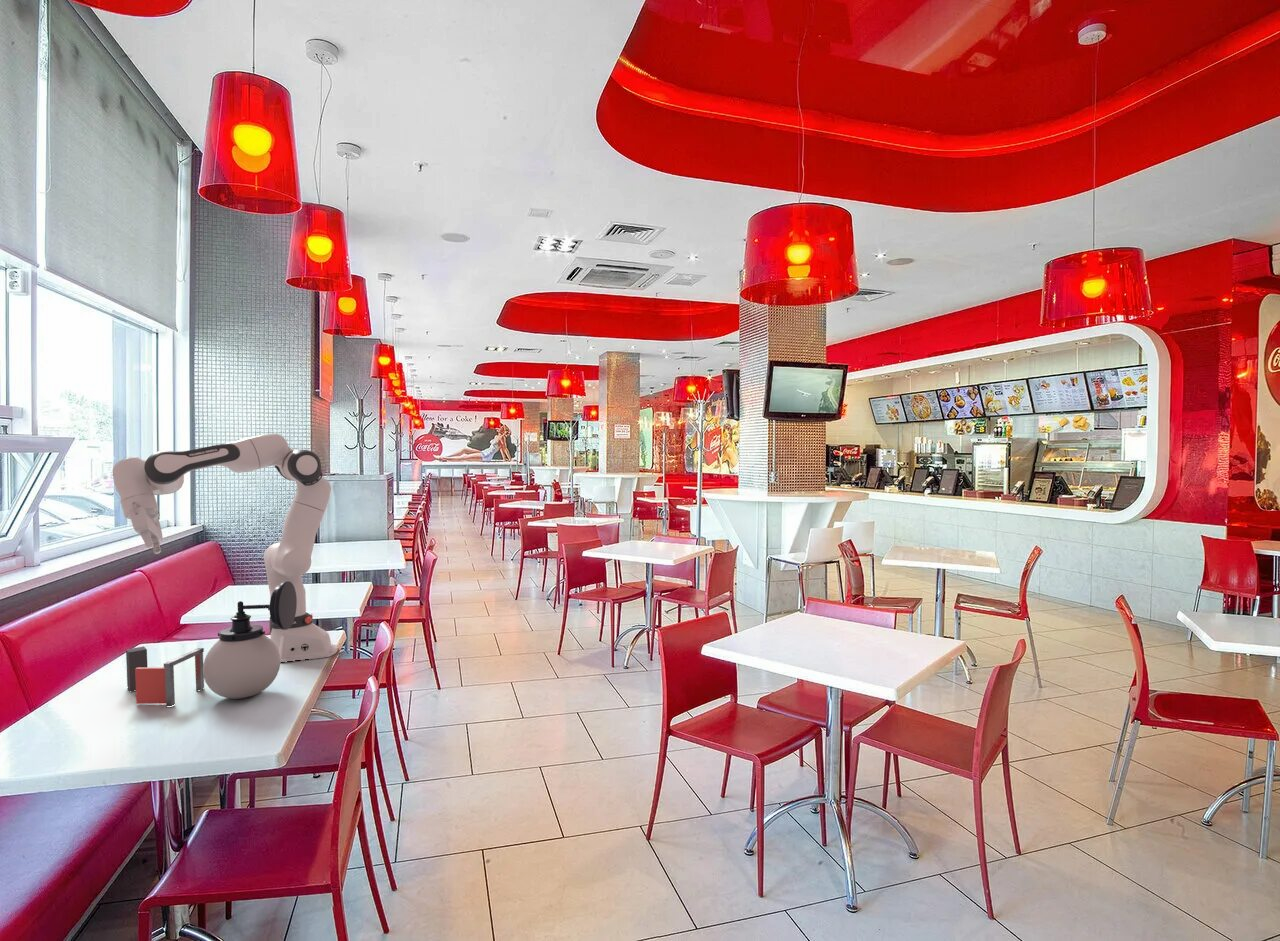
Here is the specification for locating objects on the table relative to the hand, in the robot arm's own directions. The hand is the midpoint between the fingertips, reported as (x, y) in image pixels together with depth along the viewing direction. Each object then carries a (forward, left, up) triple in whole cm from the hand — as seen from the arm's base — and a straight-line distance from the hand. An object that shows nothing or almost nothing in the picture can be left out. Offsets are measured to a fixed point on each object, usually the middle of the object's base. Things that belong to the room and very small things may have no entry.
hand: (154, 550), depth 220 cm
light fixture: (-30, +19, -42) cm, 55 cm away
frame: (-12, +15, -41) cm, 46 cm away
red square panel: (-6, +19, -41) cm, 46 cm away
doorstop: (+5, +2, -41) cm, 42 cm away
